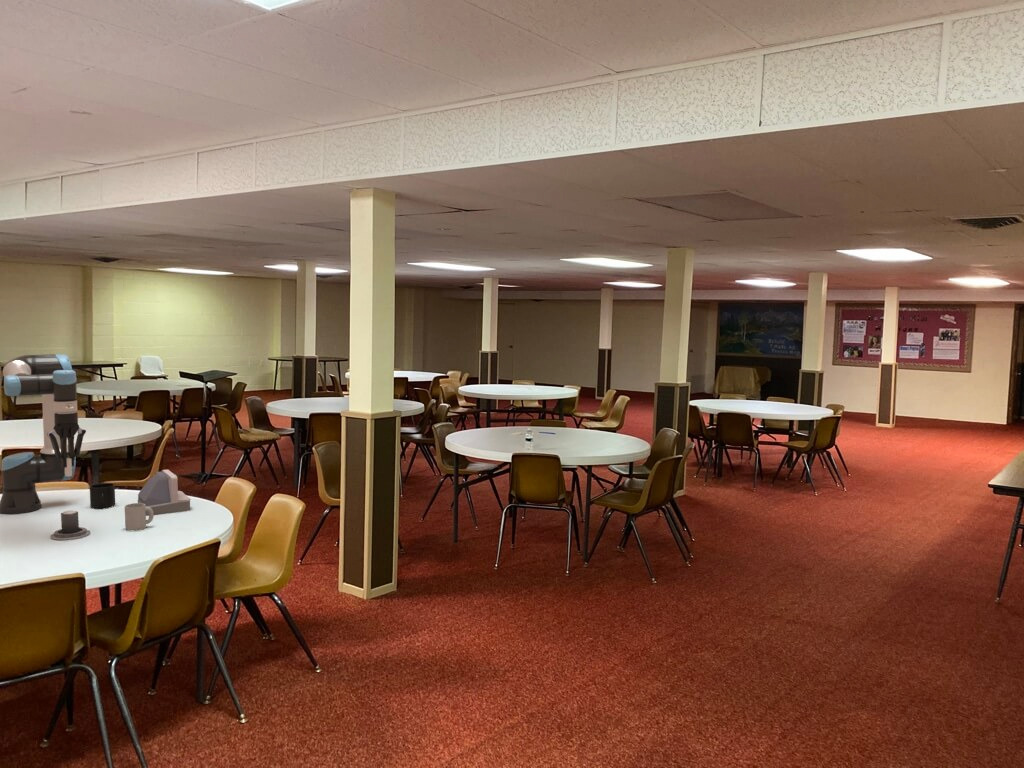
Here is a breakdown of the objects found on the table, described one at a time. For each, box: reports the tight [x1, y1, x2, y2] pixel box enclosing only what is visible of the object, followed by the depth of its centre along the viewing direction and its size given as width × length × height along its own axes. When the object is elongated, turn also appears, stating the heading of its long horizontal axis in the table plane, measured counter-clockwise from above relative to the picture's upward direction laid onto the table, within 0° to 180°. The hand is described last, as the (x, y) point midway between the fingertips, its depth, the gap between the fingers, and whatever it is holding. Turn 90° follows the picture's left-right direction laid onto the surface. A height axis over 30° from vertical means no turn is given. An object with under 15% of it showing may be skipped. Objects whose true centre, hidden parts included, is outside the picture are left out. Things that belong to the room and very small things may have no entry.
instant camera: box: [137, 469, 191, 517], centre depth 338 cm, size 21×21×15 cm
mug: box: [89, 482, 116, 510], centre depth 340 cm, size 9×12×9 cm
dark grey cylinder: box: [60, 510, 80, 534], centre depth 298 cm, size 6×6×8 cm
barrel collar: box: [49, 526, 91, 541], centre depth 298 cm, size 13×13×2 cm
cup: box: [124, 502, 155, 531], centre depth 309 cm, size 7×10×9 cm
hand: (68, 475), depth 297 cm, fingers closed
